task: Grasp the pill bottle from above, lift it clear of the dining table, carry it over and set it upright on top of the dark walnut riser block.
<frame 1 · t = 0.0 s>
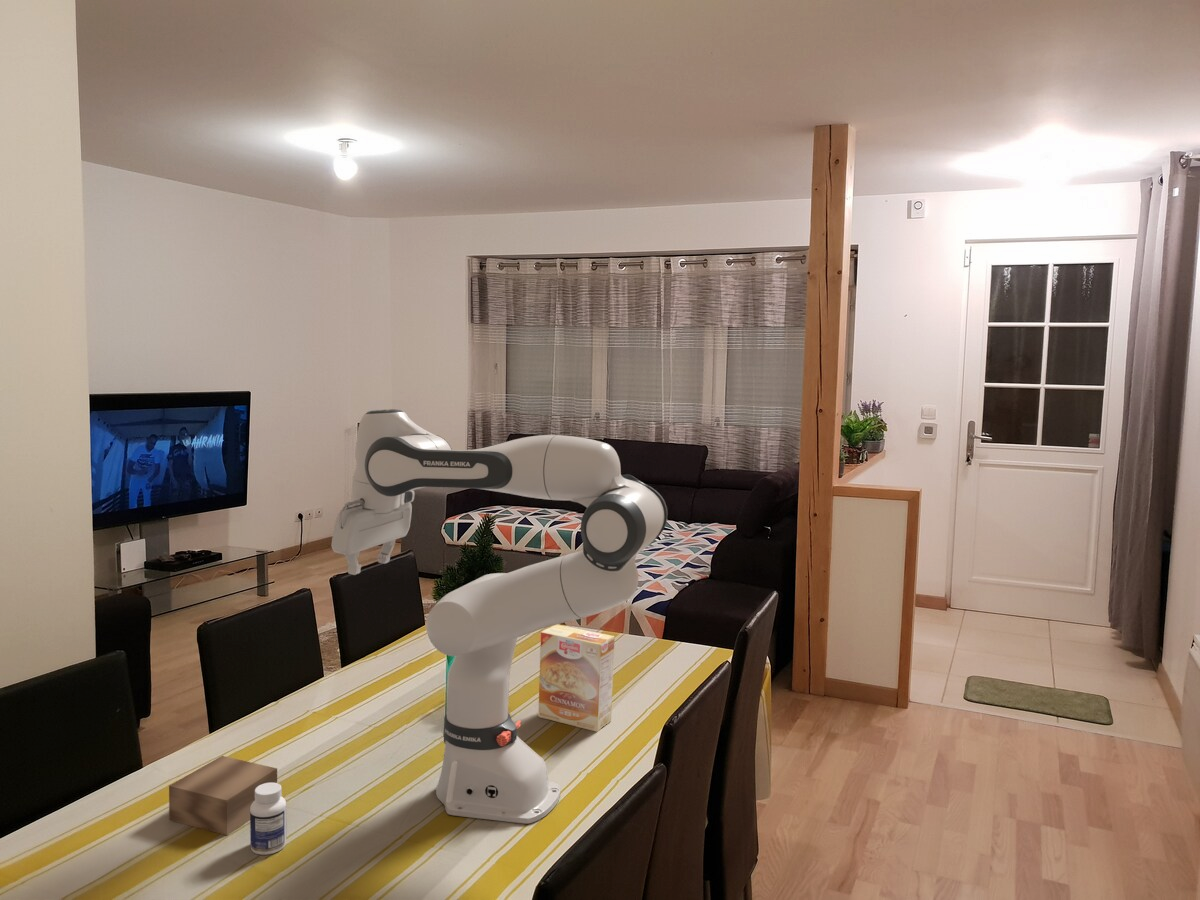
hand: (369, 567, 163), 39 cm above the table, fingers open, 8 cm apart
pill bottle: (268, 847, 140), on the table
coffeecake box: (574, 720, 193), on the table
walnut riser: (224, 810, 150), on the table
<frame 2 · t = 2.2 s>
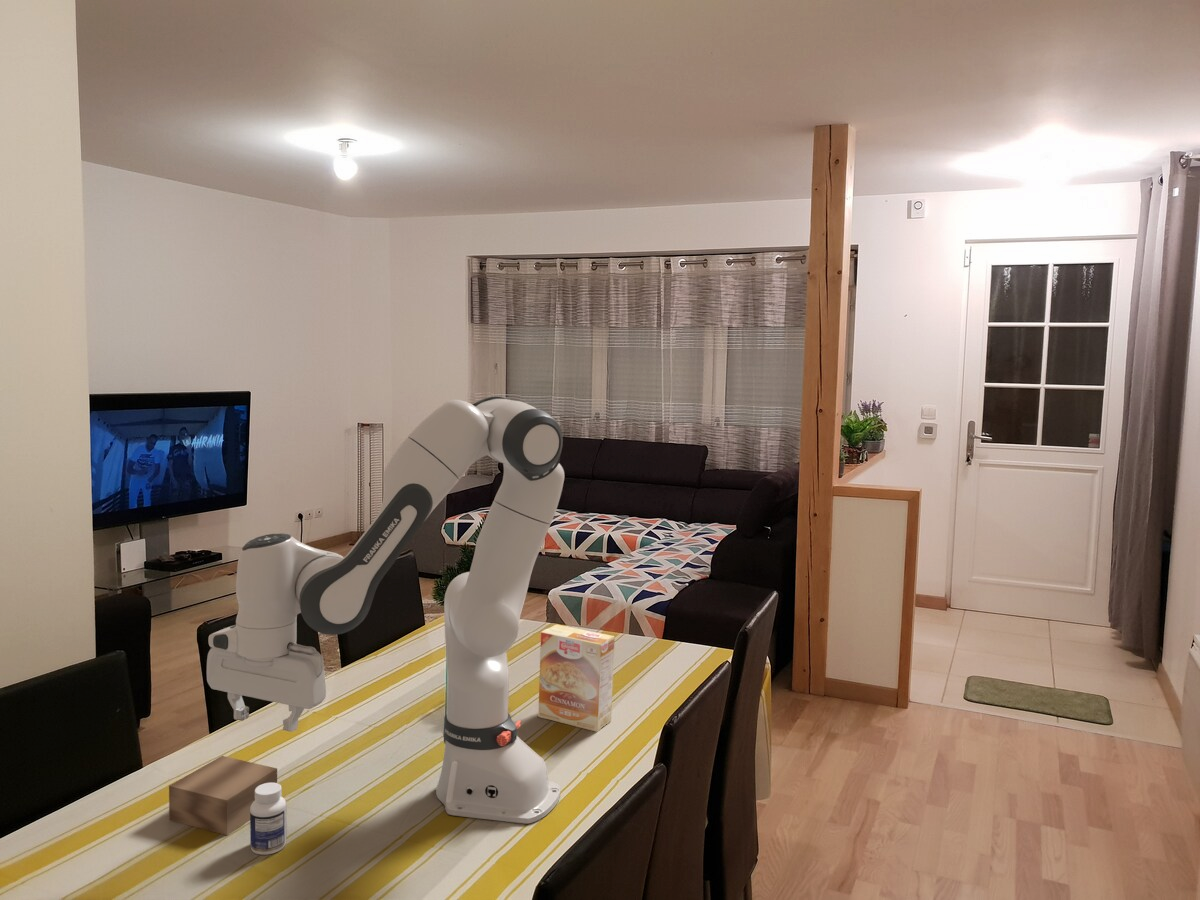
hand: (265, 724, 138), 20 cm above the table, fingers open, 8 cm apart
nothing on the table moved.
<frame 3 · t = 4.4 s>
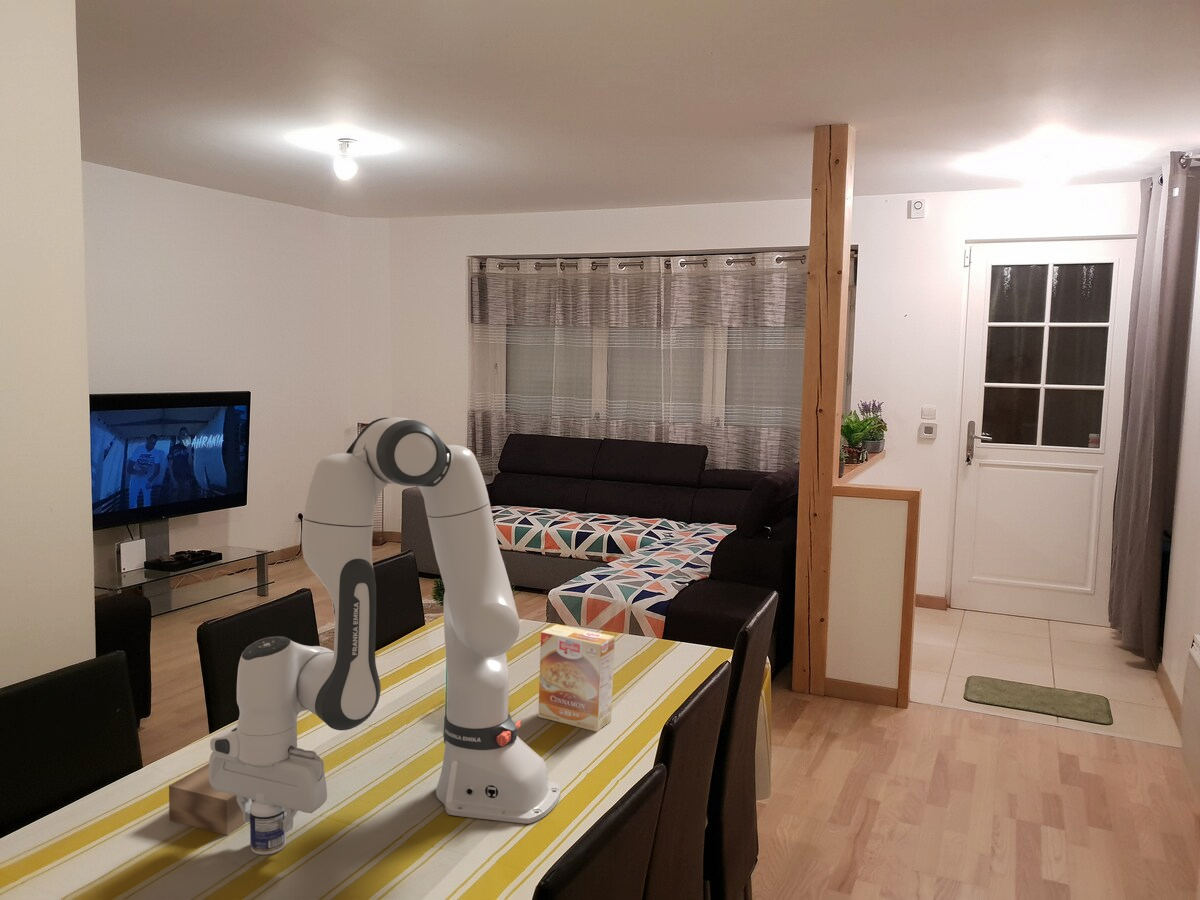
hand: (268, 825, 140), 4 cm above the table, fingers closed on pill bottle, 5 cm apart
pill bottle: (268, 847, 140), on the table, touching gripper
everything else where it was.
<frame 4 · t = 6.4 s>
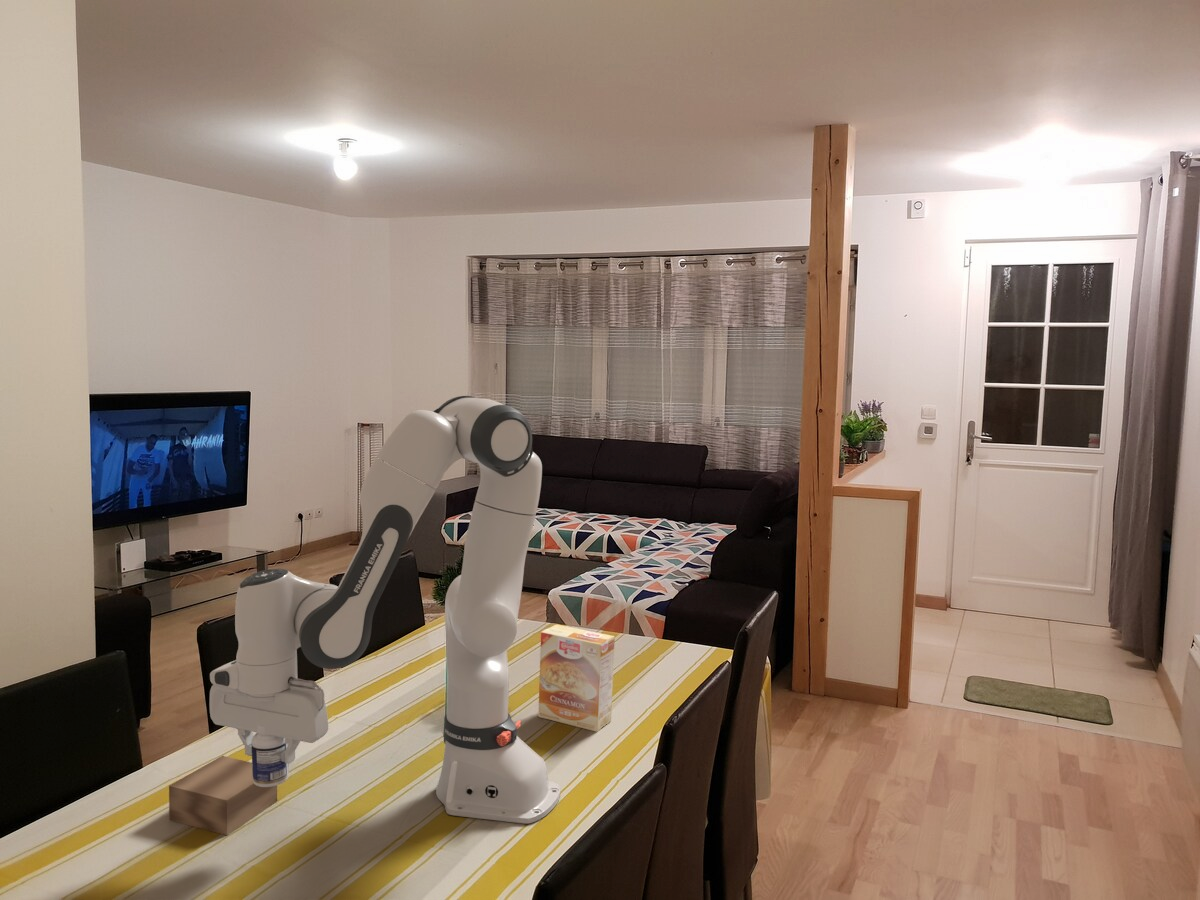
hand: (270, 758, 139), 15 cm above the table, fingers closed on pill bottle, 5 cm apart
pill bottle: (270, 781, 139), point 11 cm above the table, touching gripper
everything else where it was.
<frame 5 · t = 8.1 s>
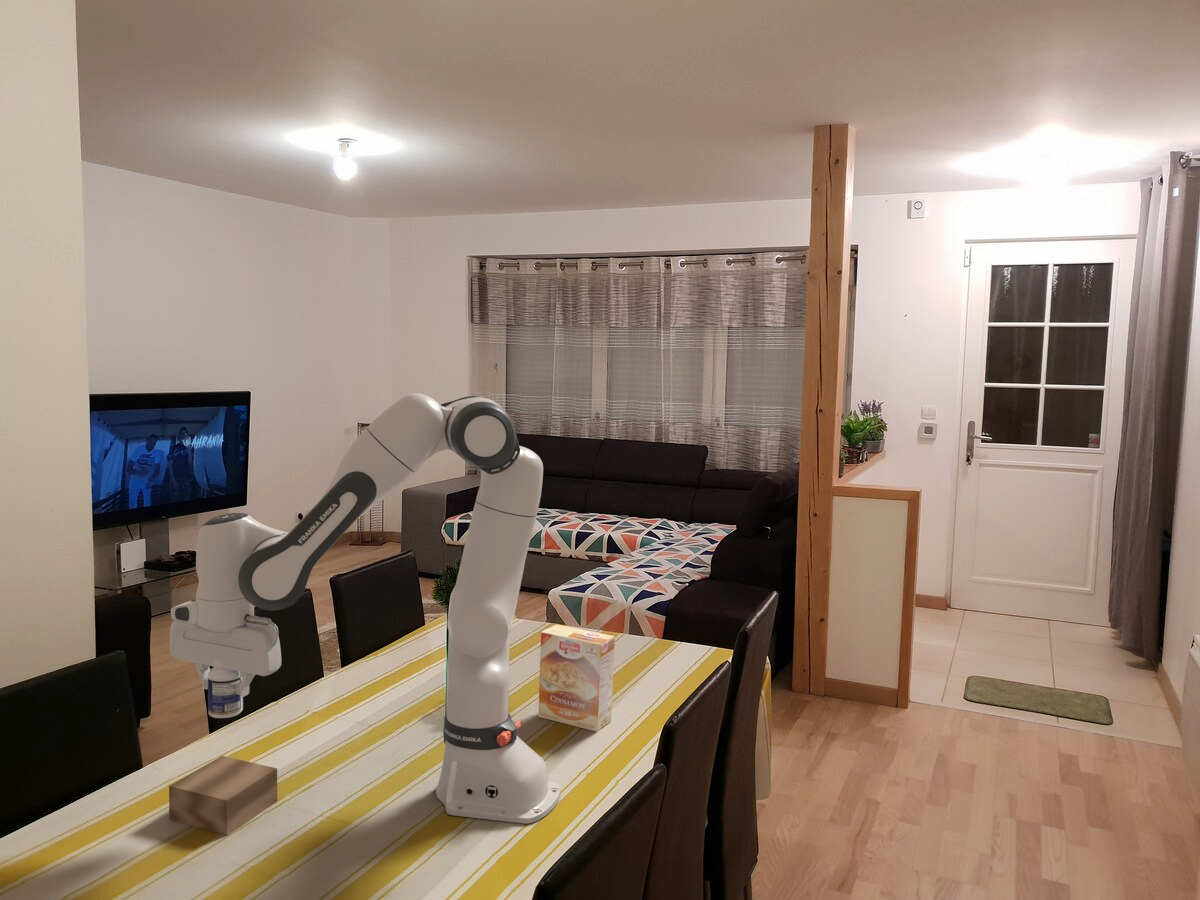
hand: (225, 691, 147), 22 cm above the table, fingers closed on pill bottle, 5 cm apart
pill bottle: (225, 713, 147), point 18 cm above the table, touching gripper
everything else where it was.
when the fingers open (11 cm above the table, at t = 11.0 s): pill bottle drops 1 cm, resting on walnut riser.
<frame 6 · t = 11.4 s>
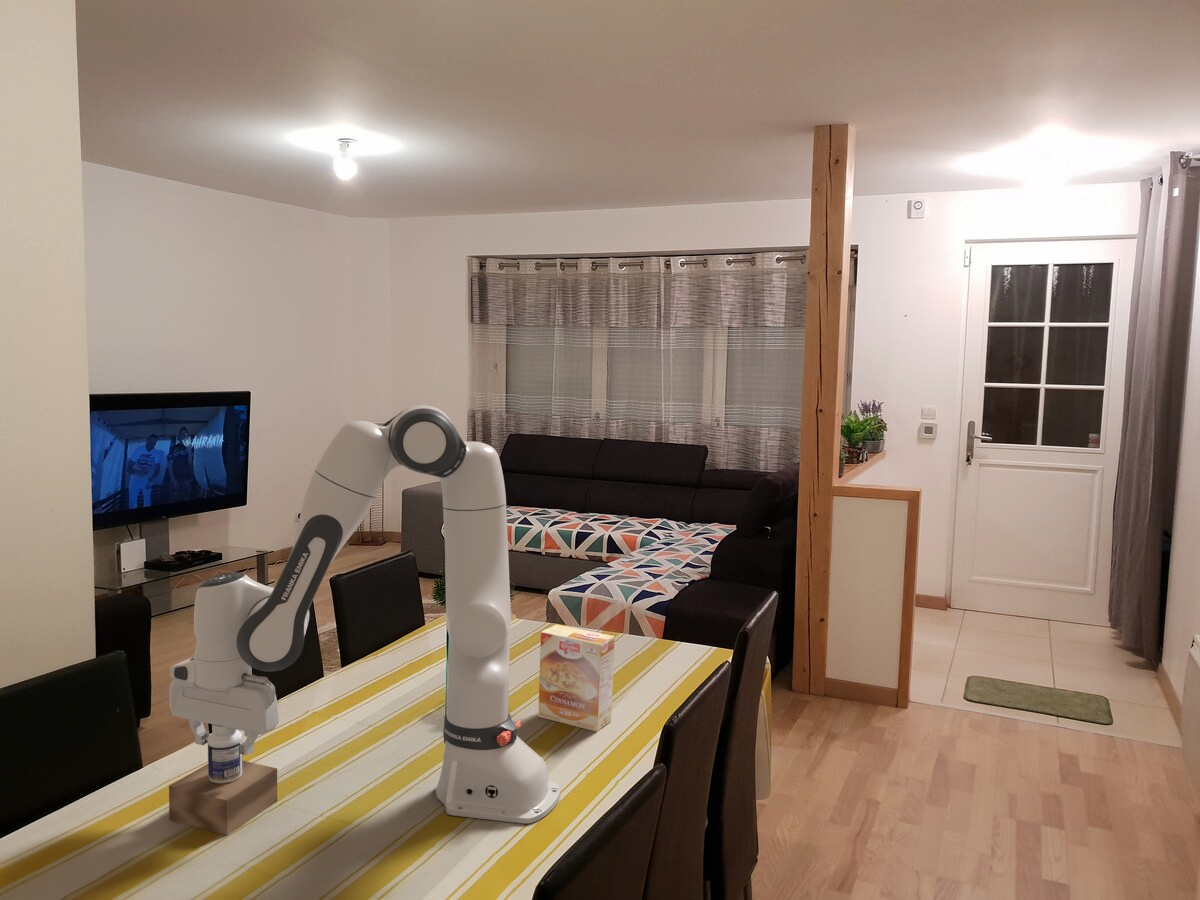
hand: (224, 748, 149), 11 cm above the table, fingers open, 8 cm apart
pill bottle: (225, 778, 150), point 6 cm above the table, touching walnut riser
everything else where it was.
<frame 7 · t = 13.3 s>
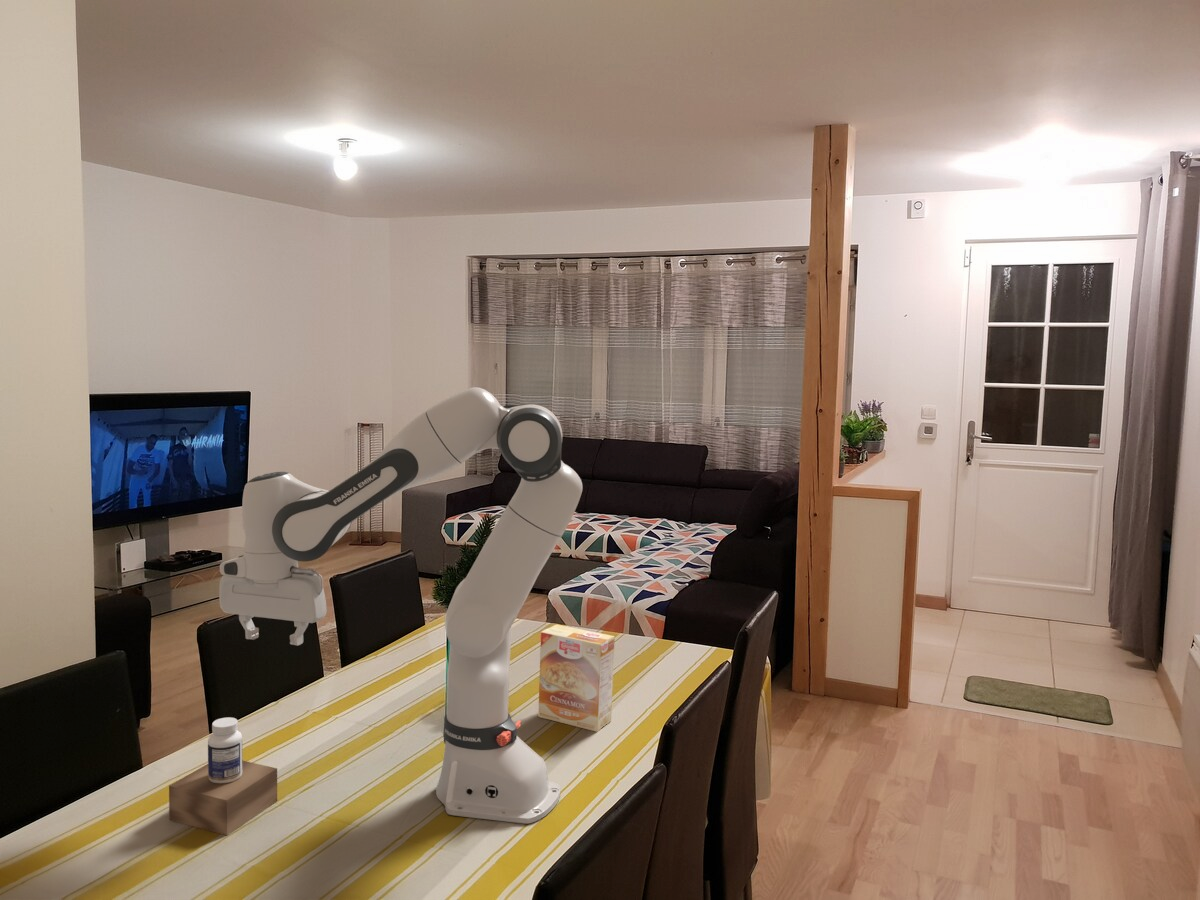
hand: (274, 641, 155), 27 cm above the table, fingers open, 8 cm apart
nothing on the table moved.
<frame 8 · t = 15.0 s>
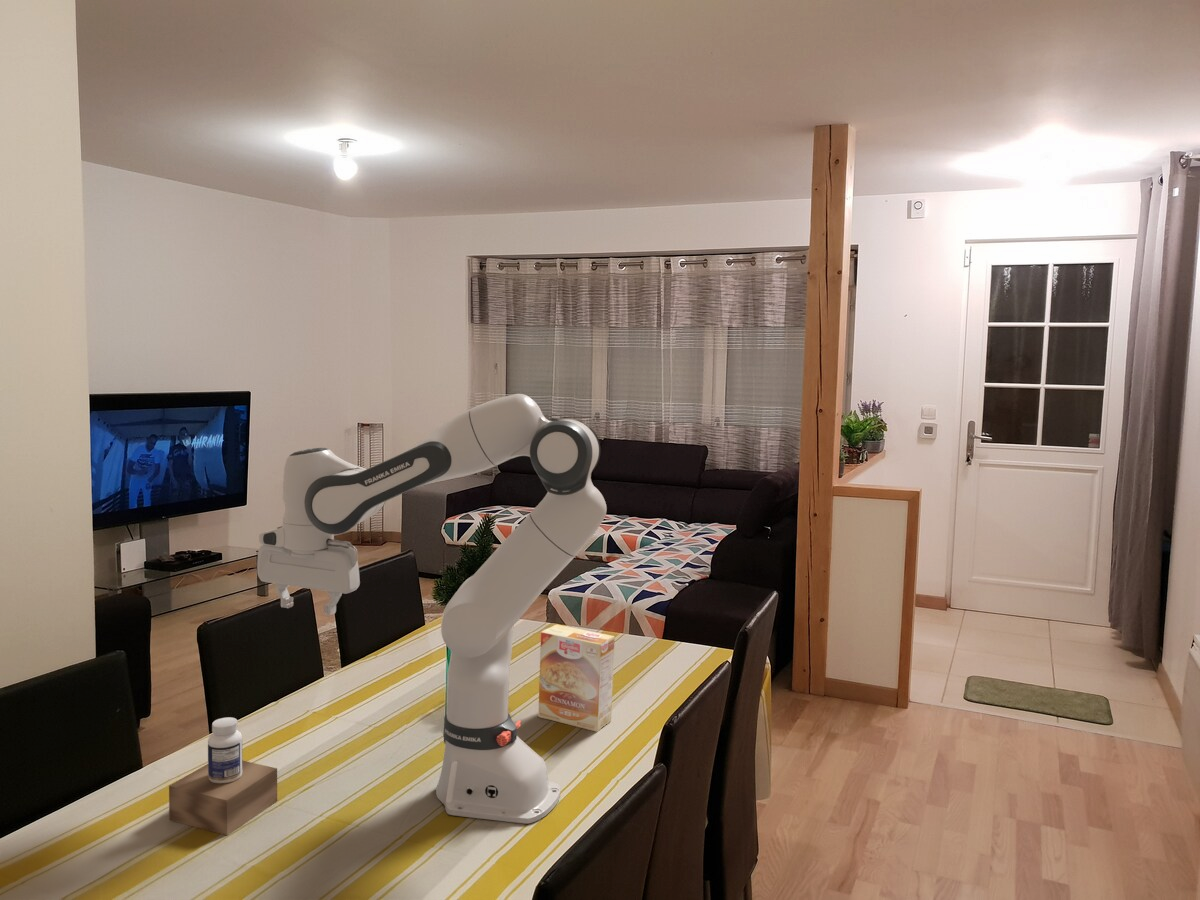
hand: (308, 610, 162), 31 cm above the table, fingers open, 8 cm apart
nothing on the table moved.
at the end: pill bottle inside the target area on the walnut riser (0.2 cm from its centre), point 5.8 cm above the walnut riser's base; pill bottle tilted 0°; the gripper is holding nothing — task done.
